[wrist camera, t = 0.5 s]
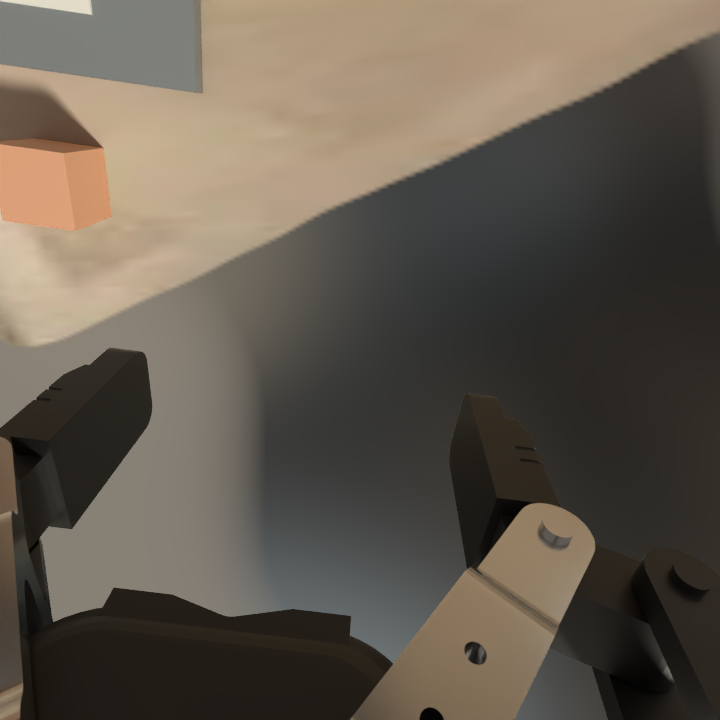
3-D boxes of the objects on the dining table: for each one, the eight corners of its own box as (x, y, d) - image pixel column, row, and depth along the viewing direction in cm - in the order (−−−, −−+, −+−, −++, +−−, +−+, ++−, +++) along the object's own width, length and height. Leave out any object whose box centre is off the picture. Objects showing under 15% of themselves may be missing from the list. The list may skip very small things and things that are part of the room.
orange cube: (36, 138, 35) (-15, 142, 30) (104, 147, 35) (63, 153, 30) (48, 207, 37) (3, 220, 33) (112, 216, 37) (75, 230, 33)
